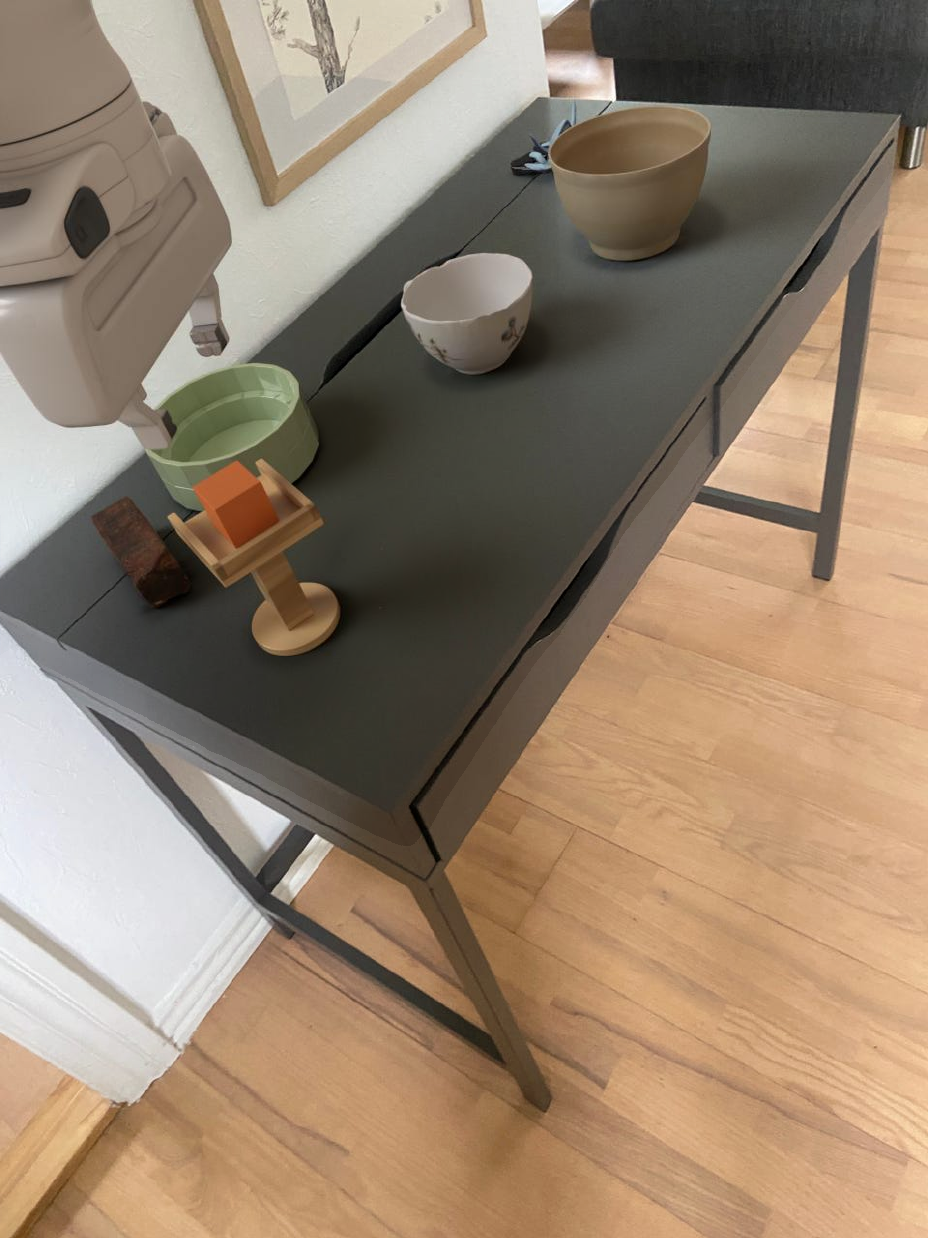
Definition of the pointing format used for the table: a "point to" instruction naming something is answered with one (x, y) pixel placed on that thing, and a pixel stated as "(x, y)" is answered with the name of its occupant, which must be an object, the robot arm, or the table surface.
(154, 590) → the brick
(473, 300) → the teacup
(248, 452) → the sage green basin
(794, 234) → the table surface
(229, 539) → the block
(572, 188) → the planter bowl
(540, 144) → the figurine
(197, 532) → the wooden pedestal tray
